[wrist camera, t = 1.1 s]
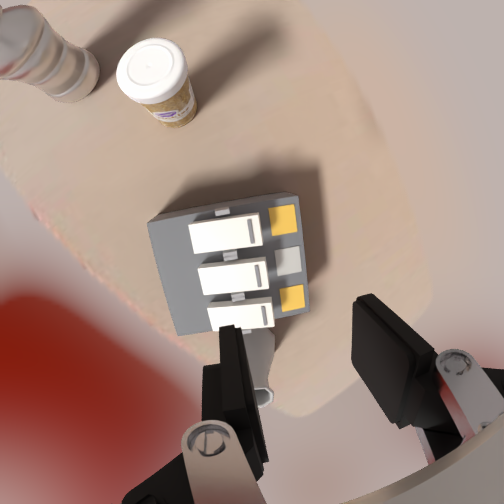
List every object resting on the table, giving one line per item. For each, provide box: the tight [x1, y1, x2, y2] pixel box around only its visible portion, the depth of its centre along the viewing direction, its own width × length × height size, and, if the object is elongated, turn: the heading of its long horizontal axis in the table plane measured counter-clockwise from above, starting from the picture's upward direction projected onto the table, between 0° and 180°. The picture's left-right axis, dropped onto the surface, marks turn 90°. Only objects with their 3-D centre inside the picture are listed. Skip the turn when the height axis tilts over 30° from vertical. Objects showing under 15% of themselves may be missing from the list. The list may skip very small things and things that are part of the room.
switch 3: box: [207, 297, 275, 331], centre depth 27 cm, size 3×6×1 cm, turn 99°
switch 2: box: [198, 257, 270, 295], centre depth 26 cm, size 3×6×1 cm, turn 99°
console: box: [147, 192, 310, 336], centre depth 29 cm, size 12×14×7 cm
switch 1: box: [188, 212, 263, 254], centre depth 25 cm, size 3×6×1 cm, turn 99°
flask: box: [243, 327, 275, 408], centre depth 31 cm, size 7×7×10 cm
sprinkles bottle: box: [116, 38, 197, 128], centre depth 20 cm, size 5×5×14 cm
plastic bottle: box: [0, 5, 100, 103], centre depth 14 cm, size 6×7×20 cm
